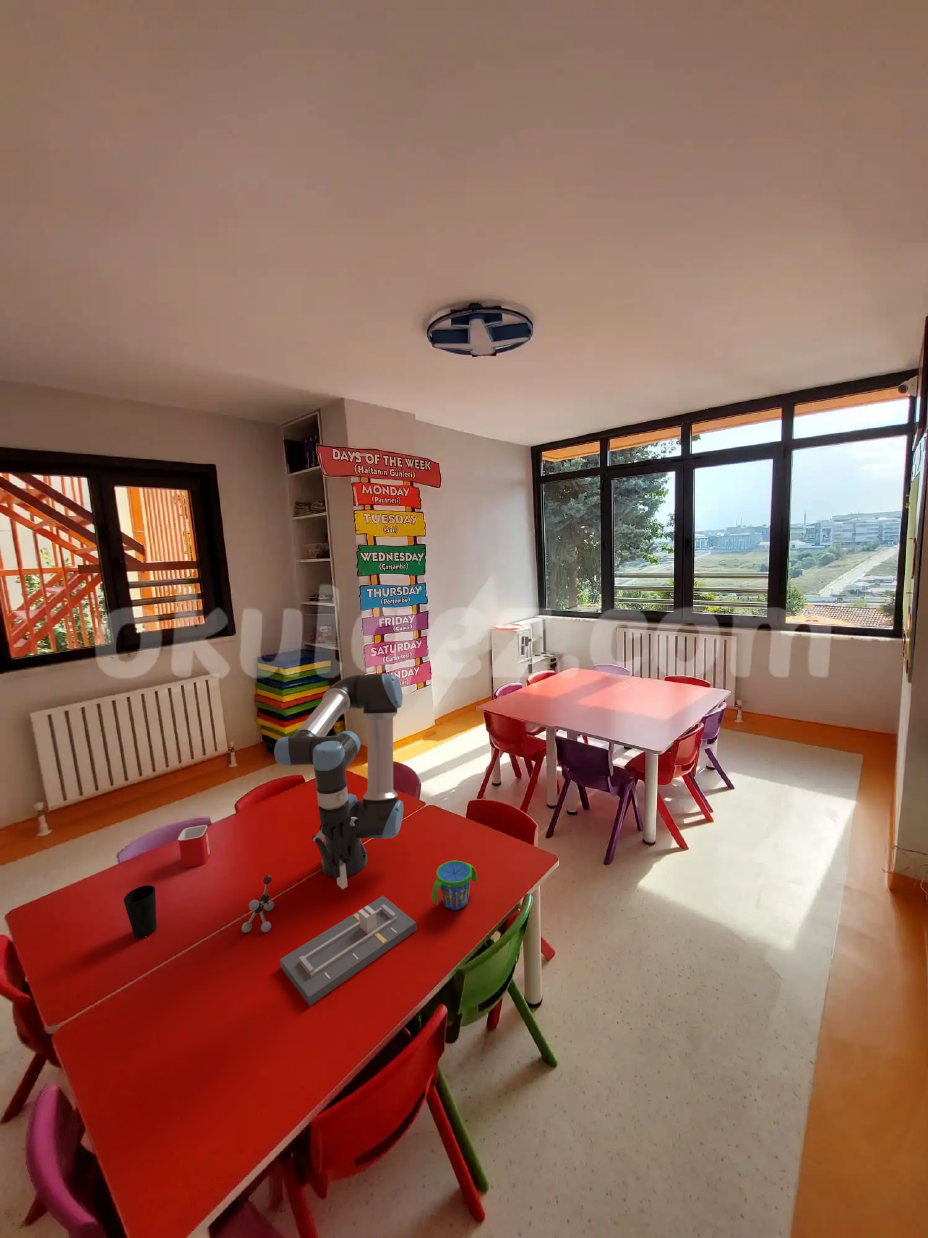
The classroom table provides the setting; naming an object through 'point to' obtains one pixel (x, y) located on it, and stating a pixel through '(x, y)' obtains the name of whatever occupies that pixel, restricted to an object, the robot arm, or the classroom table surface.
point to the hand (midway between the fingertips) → (342, 885)
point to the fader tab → (367, 919)
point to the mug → (194, 846)
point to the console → (345, 950)
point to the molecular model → (260, 908)
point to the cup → (141, 910)
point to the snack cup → (454, 884)
